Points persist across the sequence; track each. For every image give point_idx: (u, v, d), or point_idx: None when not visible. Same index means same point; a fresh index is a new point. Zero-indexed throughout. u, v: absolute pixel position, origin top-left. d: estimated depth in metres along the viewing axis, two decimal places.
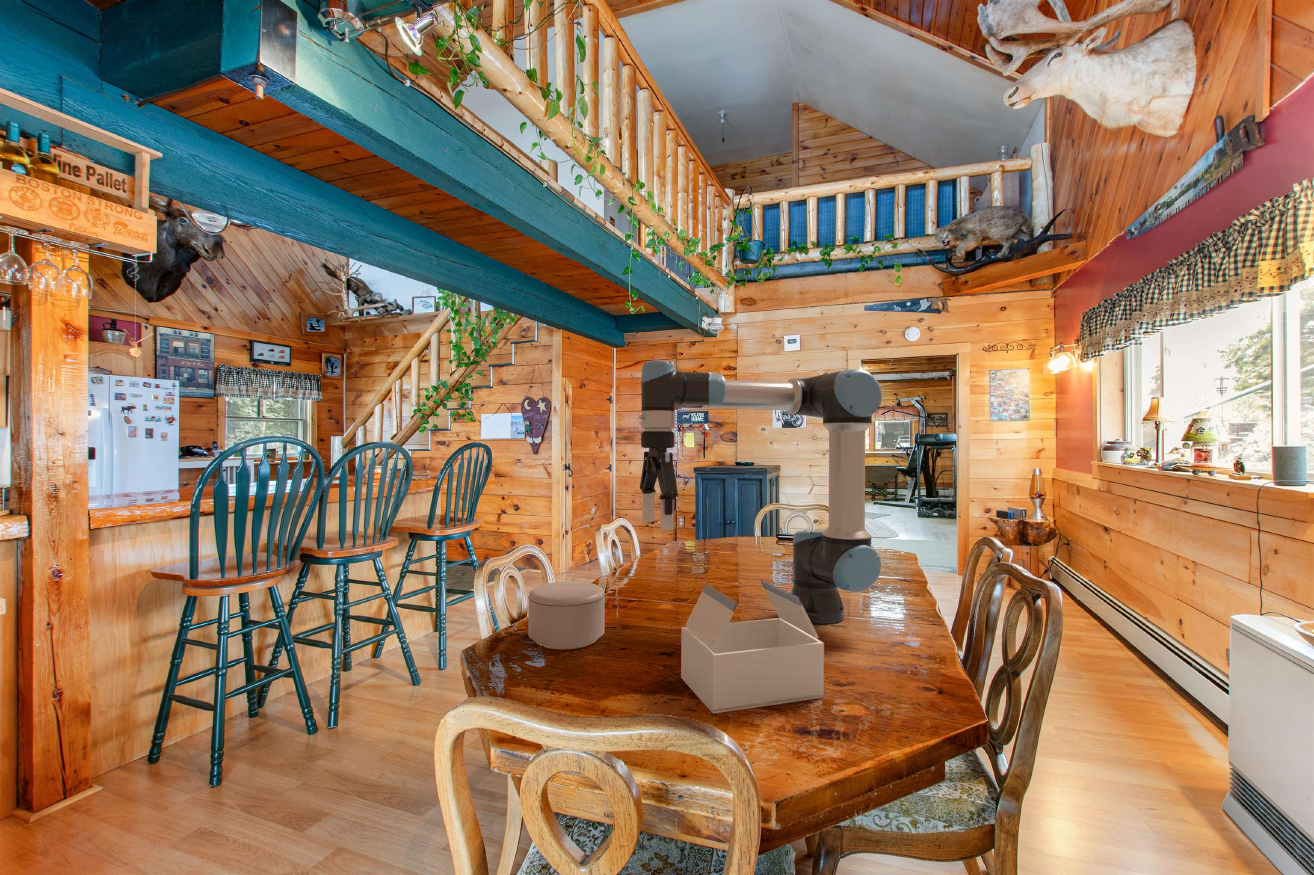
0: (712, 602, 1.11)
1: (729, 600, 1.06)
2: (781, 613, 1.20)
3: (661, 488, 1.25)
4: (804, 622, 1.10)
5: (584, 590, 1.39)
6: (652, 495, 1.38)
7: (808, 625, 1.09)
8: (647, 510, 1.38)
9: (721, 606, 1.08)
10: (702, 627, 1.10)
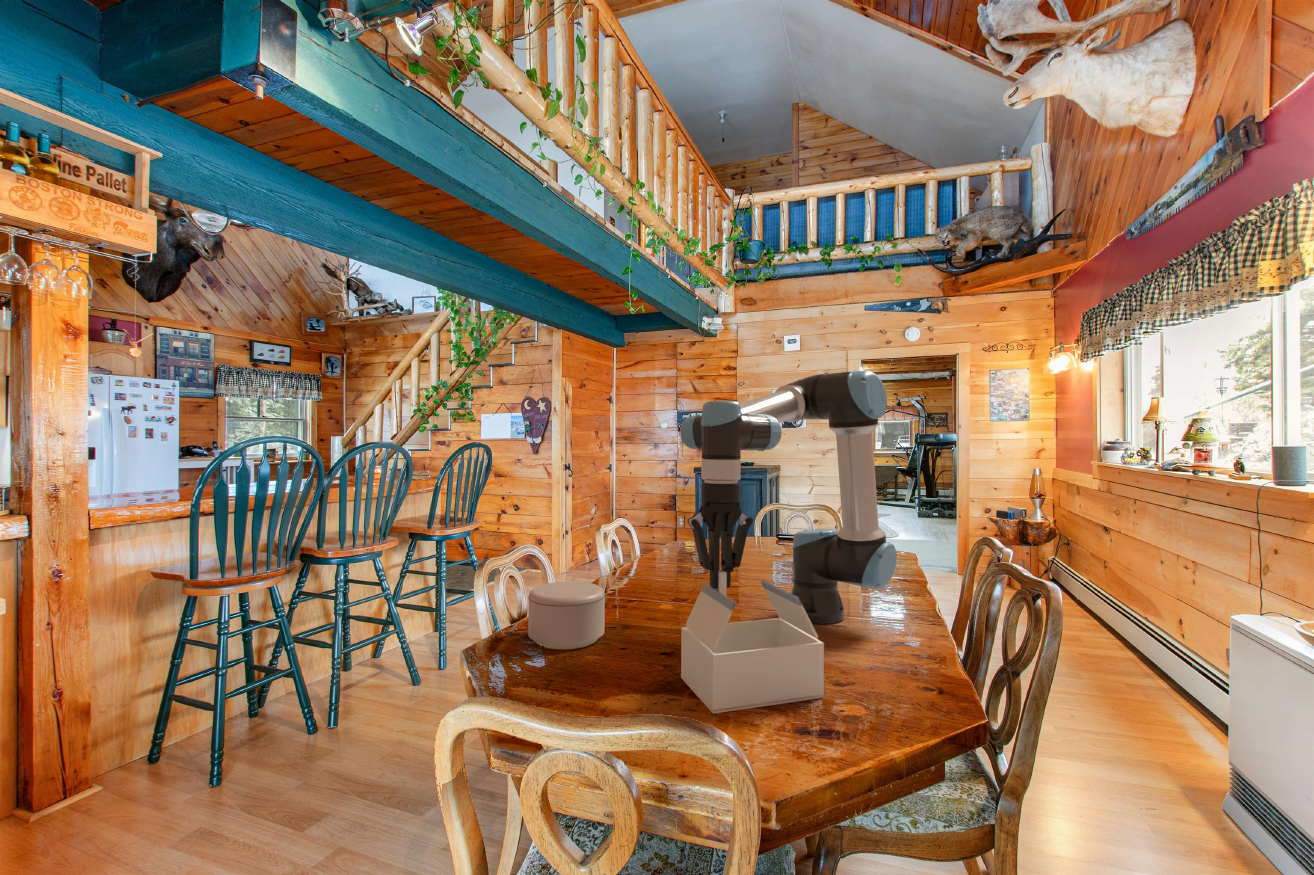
0: (711, 601, 1.11)
1: (727, 599, 1.06)
2: (781, 613, 1.20)
3: None
4: (804, 622, 1.10)
5: (584, 590, 1.39)
6: None
7: (808, 625, 1.09)
8: None
9: (719, 606, 1.08)
10: (702, 627, 1.10)
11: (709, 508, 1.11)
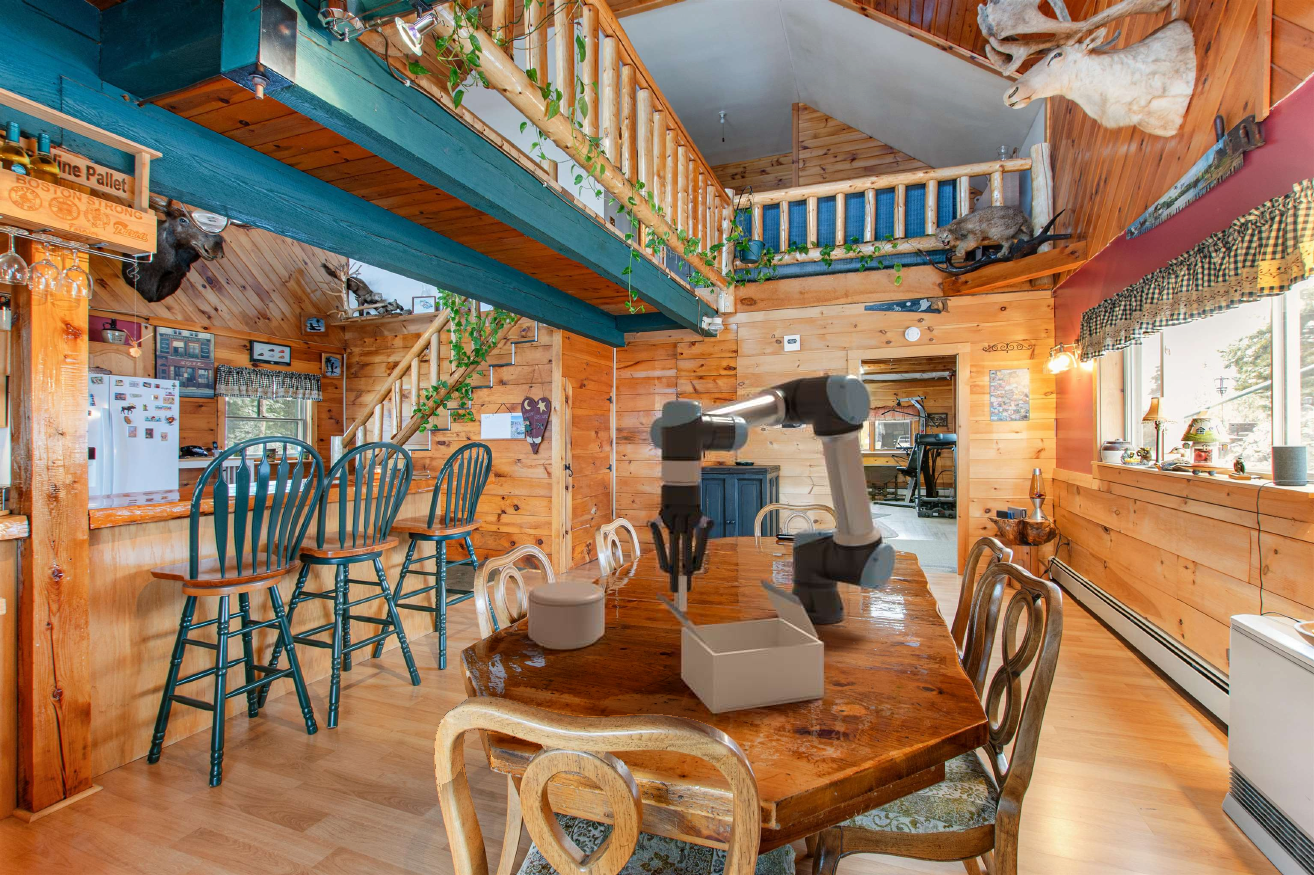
0: None
1: (677, 612, 1.03)
2: (781, 613, 1.20)
3: None
4: (804, 622, 1.10)
5: (584, 590, 1.39)
6: None
7: (808, 625, 1.09)
8: None
9: (680, 616, 1.05)
10: (691, 631, 1.09)
11: (668, 510, 1.09)
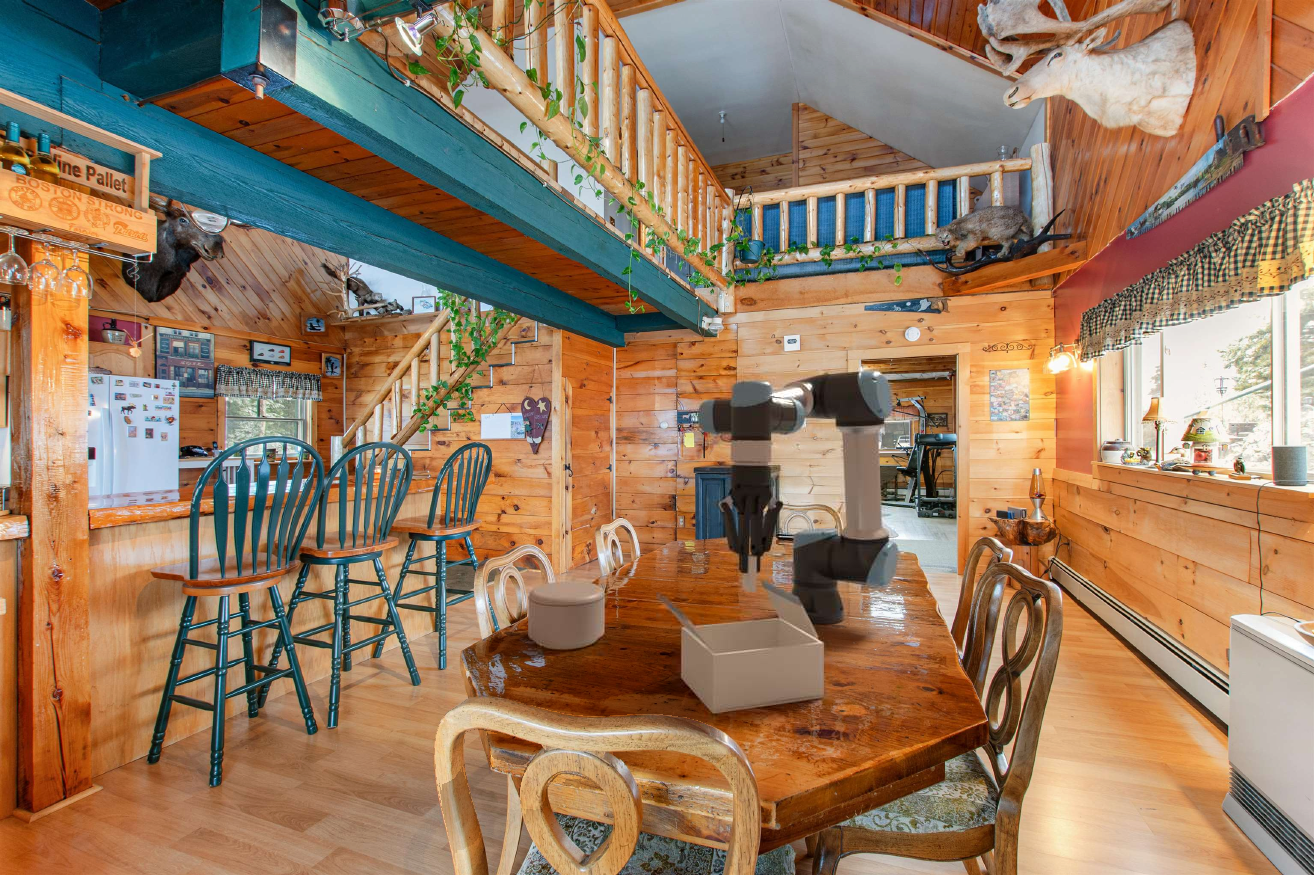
0: (674, 611, 1.09)
1: (677, 612, 1.03)
2: (781, 613, 1.20)
3: None
4: (804, 622, 1.10)
5: (584, 590, 1.39)
6: None
7: (808, 625, 1.09)
8: None
9: (680, 617, 1.05)
10: (691, 631, 1.09)
11: (739, 491, 1.09)
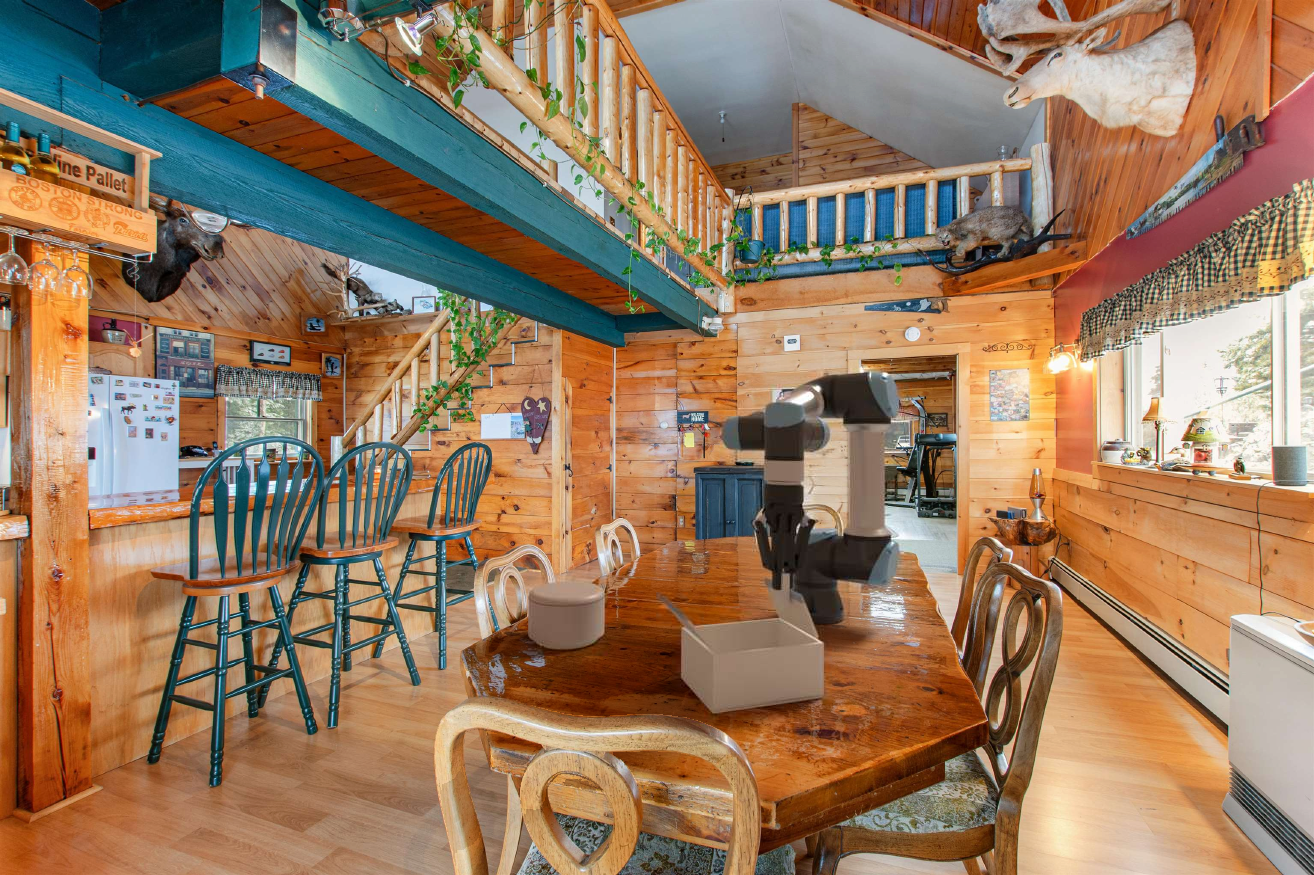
0: (674, 611, 1.09)
1: (677, 612, 1.03)
2: (782, 612, 1.20)
3: None
4: (805, 621, 1.10)
5: (584, 590, 1.39)
6: None
7: (809, 624, 1.09)
8: None
9: (680, 617, 1.05)
10: (691, 631, 1.09)
11: (773, 509, 1.11)
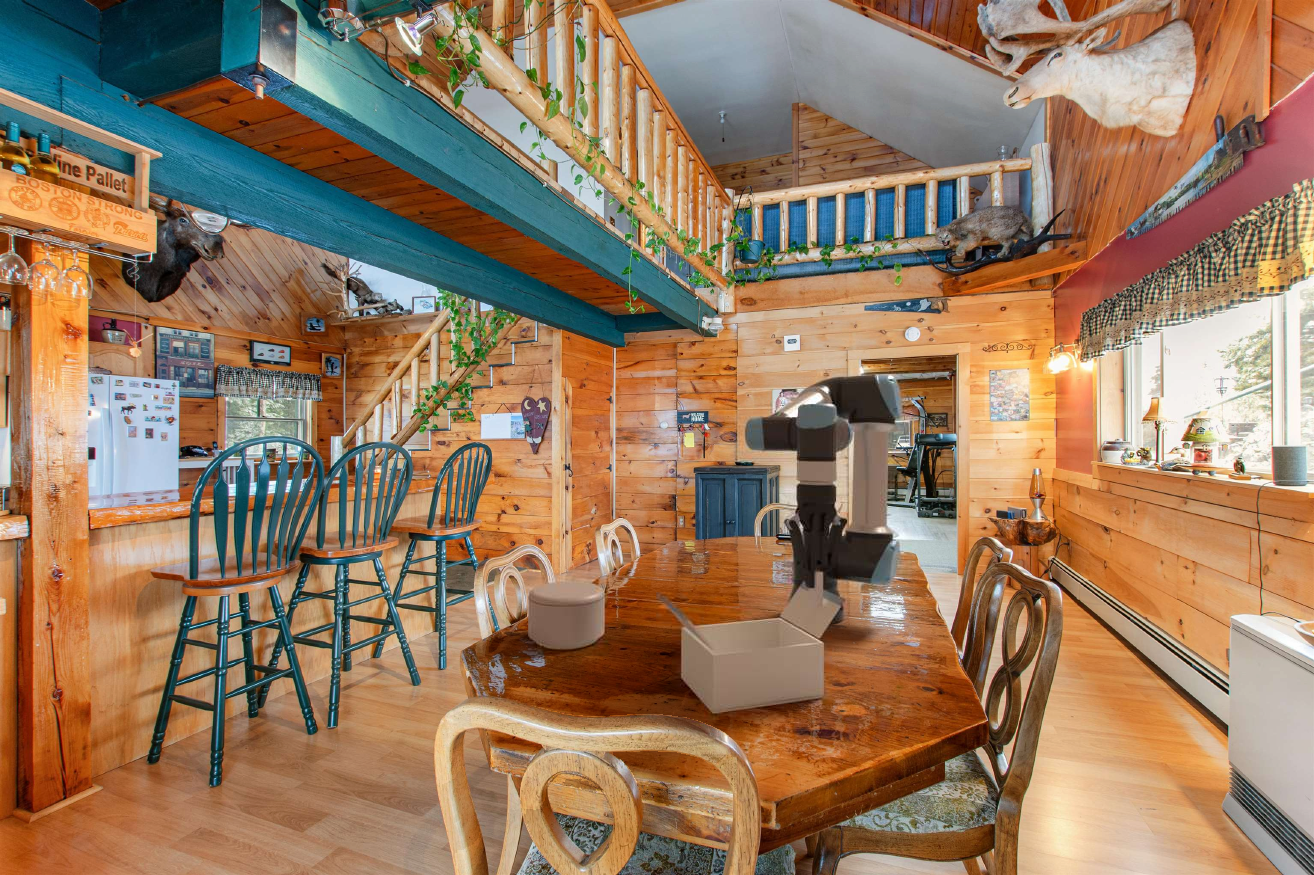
0: (674, 611, 1.09)
1: (677, 612, 1.03)
2: (791, 612, 1.20)
3: None
4: (820, 621, 1.11)
5: (584, 590, 1.39)
6: None
7: (823, 624, 1.10)
8: None
9: (680, 617, 1.05)
10: (691, 631, 1.09)
11: (806, 509, 1.13)
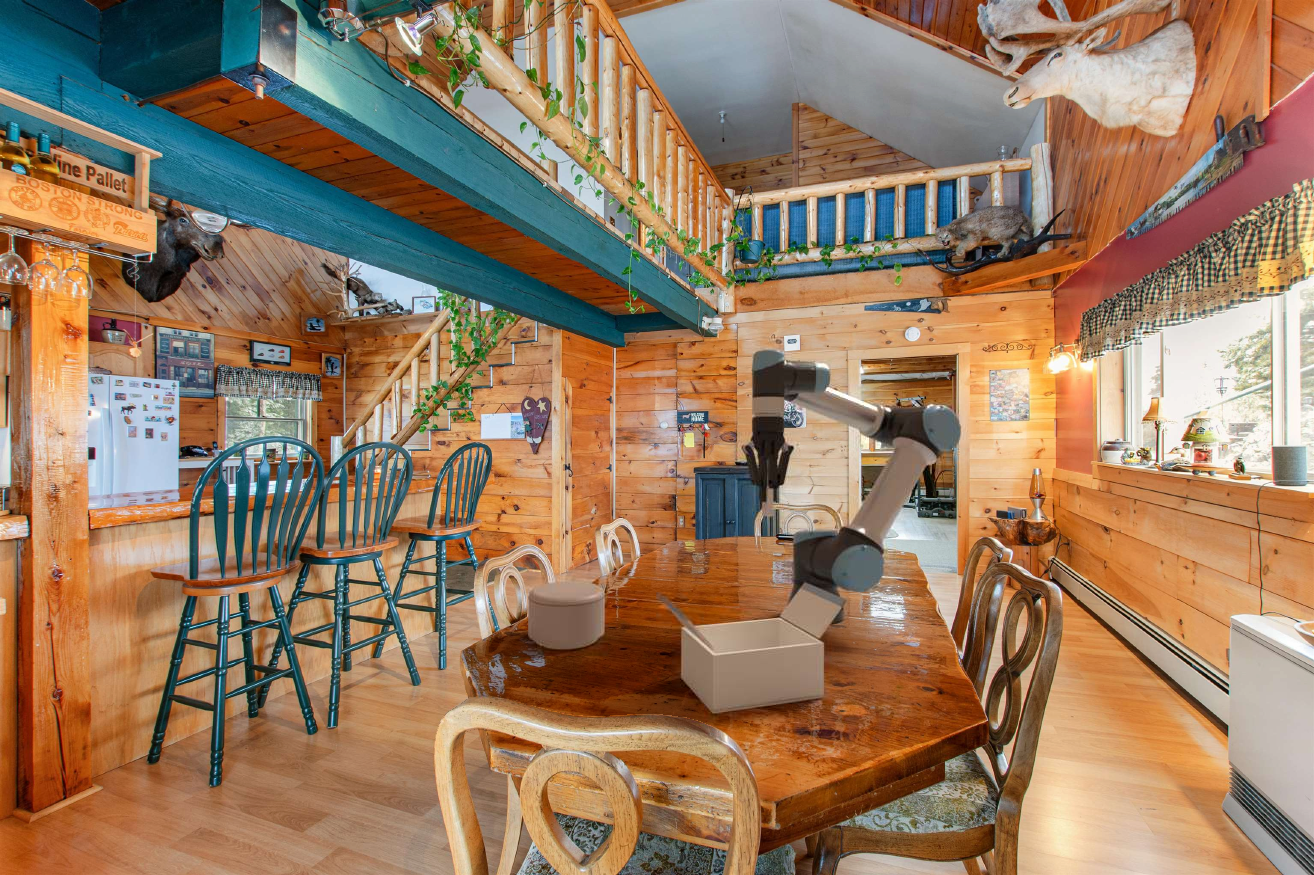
0: (674, 611, 1.09)
1: (677, 612, 1.03)
2: (791, 612, 1.20)
3: None
4: (821, 621, 1.12)
5: (584, 590, 1.39)
6: None
7: (824, 624, 1.10)
8: None
9: (680, 617, 1.05)
10: (691, 631, 1.09)
11: (759, 436, 1.38)
